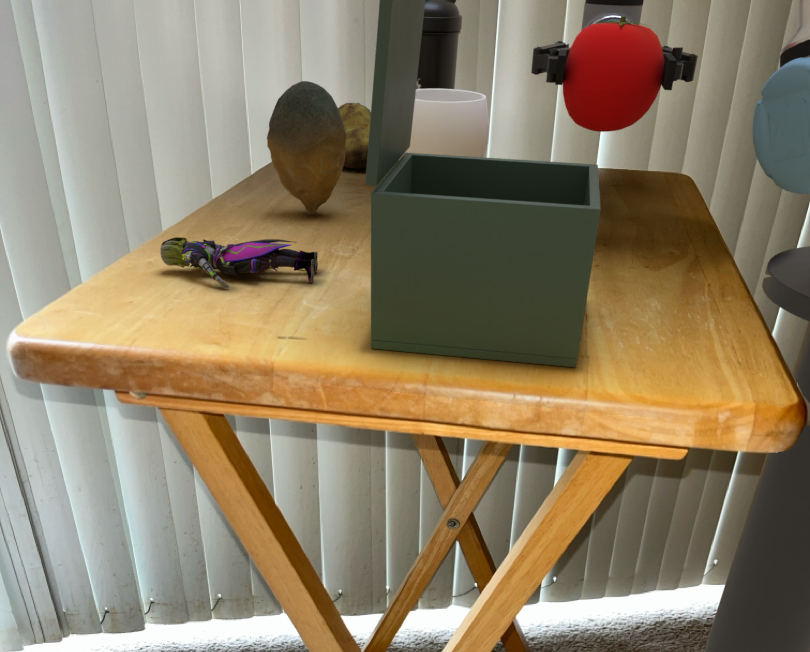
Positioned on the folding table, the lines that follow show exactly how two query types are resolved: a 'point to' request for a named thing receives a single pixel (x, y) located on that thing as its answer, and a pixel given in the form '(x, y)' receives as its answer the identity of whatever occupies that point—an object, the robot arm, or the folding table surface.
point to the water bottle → (439, 45)
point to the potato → (356, 134)
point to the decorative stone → (307, 143)
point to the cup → (449, 123)
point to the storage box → (483, 257)
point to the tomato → (612, 75)
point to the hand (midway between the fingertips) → (615, 72)
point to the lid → (393, 84)
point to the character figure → (237, 257)
